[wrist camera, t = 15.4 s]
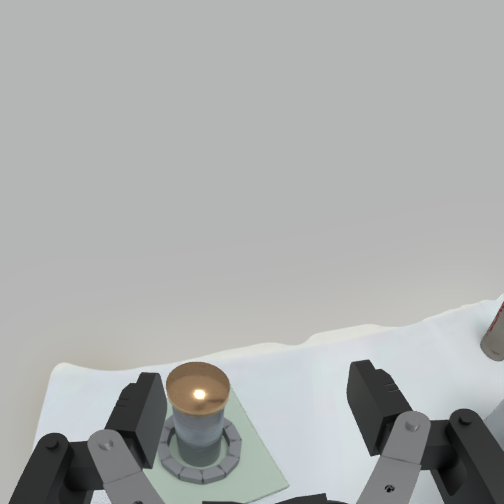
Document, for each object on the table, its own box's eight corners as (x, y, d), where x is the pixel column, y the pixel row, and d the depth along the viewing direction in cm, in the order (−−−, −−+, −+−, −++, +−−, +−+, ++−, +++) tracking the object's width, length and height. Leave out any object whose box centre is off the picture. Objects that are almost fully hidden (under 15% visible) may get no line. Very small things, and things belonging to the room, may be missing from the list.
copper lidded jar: (212, 426, 36) (216, 356, 30) (230, 461, 31) (240, 400, 25) (170, 436, 33) (159, 368, 27) (184, 474, 29) (176, 416, 23)
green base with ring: (229, 387, 43) (230, 375, 42) (287, 487, 29) (293, 480, 28) (124, 409, 36) (120, 398, 35) (160, 526, 22) (156, 522, 21)
